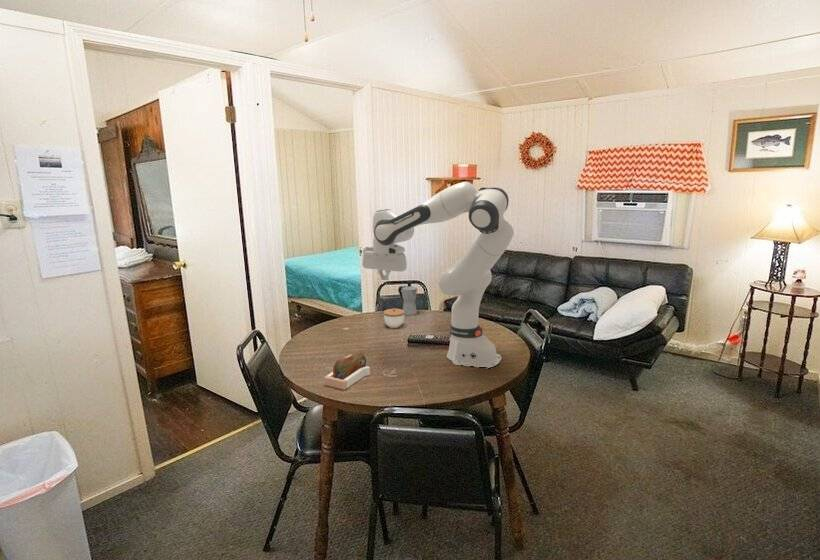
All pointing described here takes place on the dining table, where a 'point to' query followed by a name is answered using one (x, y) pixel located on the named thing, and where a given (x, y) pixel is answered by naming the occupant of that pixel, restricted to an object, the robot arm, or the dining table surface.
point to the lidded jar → (394, 317)
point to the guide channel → (346, 379)
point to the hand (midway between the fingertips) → (384, 279)
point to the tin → (348, 365)
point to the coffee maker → (408, 299)
